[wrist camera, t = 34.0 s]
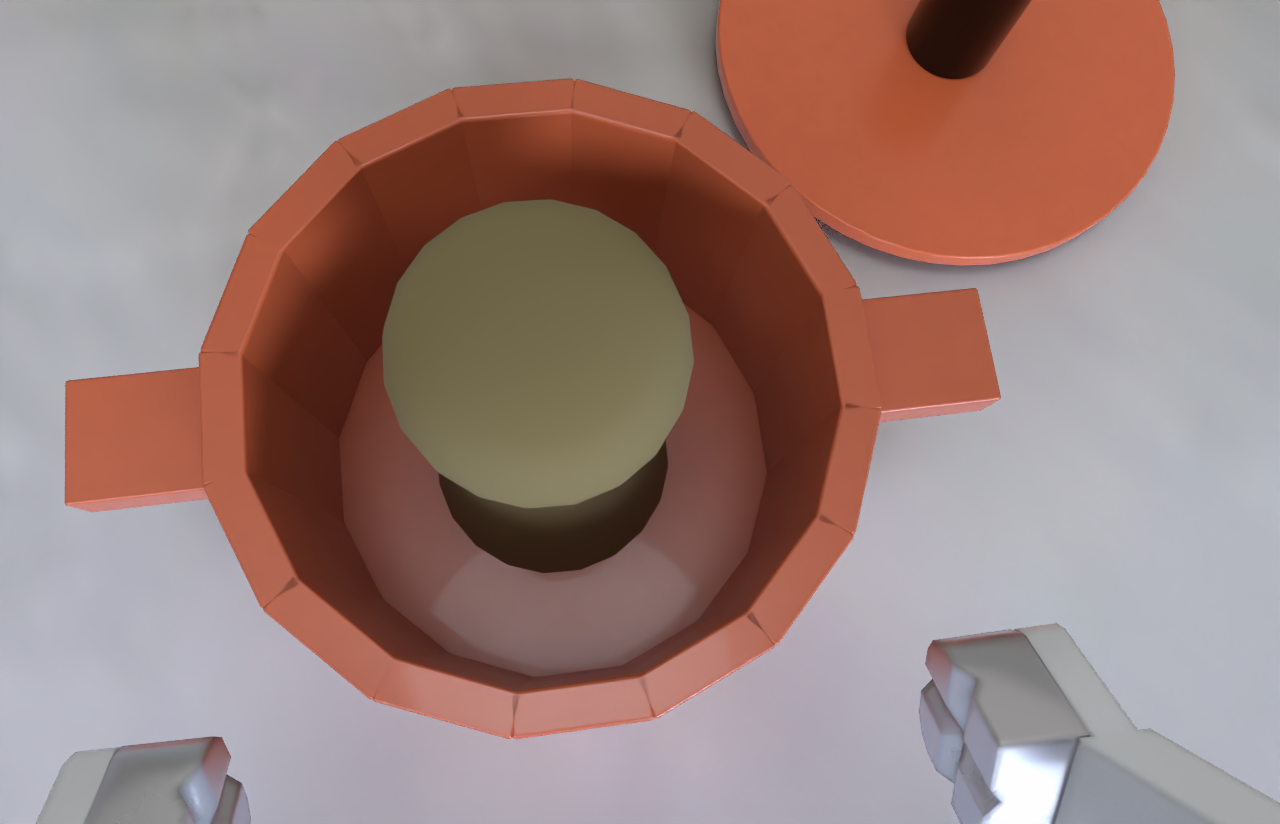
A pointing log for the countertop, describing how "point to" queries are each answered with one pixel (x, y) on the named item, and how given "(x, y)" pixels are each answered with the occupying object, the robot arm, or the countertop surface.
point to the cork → (540, 378)
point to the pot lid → (951, 115)
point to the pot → (409, 485)
